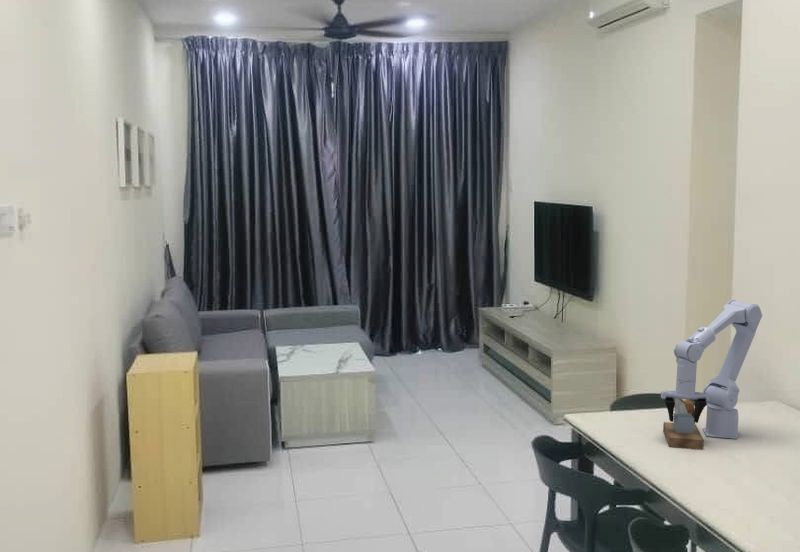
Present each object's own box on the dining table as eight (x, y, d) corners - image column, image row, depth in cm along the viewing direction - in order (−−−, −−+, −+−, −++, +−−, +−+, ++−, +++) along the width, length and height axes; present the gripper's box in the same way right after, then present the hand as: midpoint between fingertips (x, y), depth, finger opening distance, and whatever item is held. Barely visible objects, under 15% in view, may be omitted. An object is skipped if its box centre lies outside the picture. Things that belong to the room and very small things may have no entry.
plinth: (695, 433, 263) (695, 424, 263) (703, 449, 248) (703, 440, 247) (663, 430, 265) (663, 422, 265) (668, 446, 250) (669, 437, 249)
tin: (695, 429, 268) (697, 404, 267) (686, 429, 268) (687, 404, 267) (681, 415, 283) (682, 392, 282) (672, 415, 283) (673, 392, 282)
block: (689, 428, 258) (690, 413, 258) (693, 433, 254) (694, 418, 253) (673, 428, 259) (674, 412, 258) (677, 433, 254) (677, 417, 253)
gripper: (706, 377, 257) (703, 418, 259) (659, 375, 259) (657, 416, 260) (712, 382, 251) (709, 425, 252) (664, 381, 252) (662, 423, 253)
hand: (683, 421), depth 256 cm, fingers open, 7 cm apart
